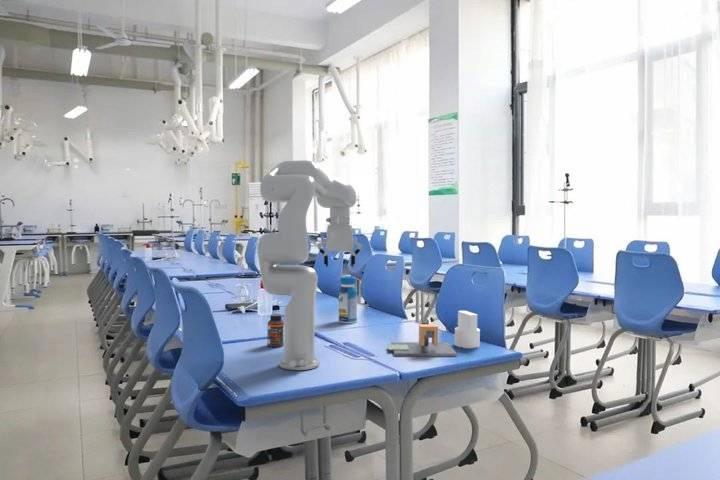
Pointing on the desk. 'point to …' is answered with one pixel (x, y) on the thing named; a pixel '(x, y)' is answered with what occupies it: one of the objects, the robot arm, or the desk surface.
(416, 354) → the stand
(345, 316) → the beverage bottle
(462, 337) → the cylinder with rectangular tab
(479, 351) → the desk surface
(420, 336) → the orange staple
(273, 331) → the supplement bottle
